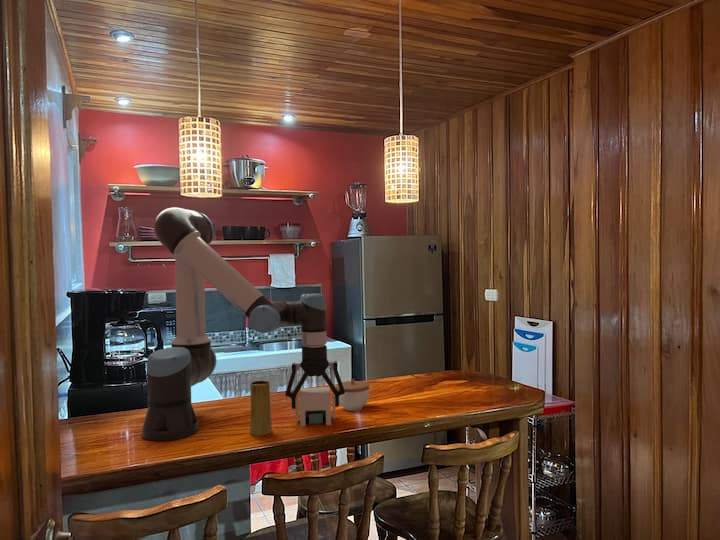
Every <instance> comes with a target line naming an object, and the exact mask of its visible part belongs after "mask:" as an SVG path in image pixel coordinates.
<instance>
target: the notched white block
mask: <svg viewBox="0 0 720 540" xmlns="http://www.w3.org/2000/svg"><path fill="white" fill-rule="evenodd" d="M318 410H322V413H323V418H325V426H332V395H331V388H330V387H329V386H328V387H326V386H325V387H306V388H305V387H301V388H300V390H299V418H300V419H299V421H300V423H299V424H300V426H299V427H306V422H307V421H306V419H309V411H318Z"/></svg>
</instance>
